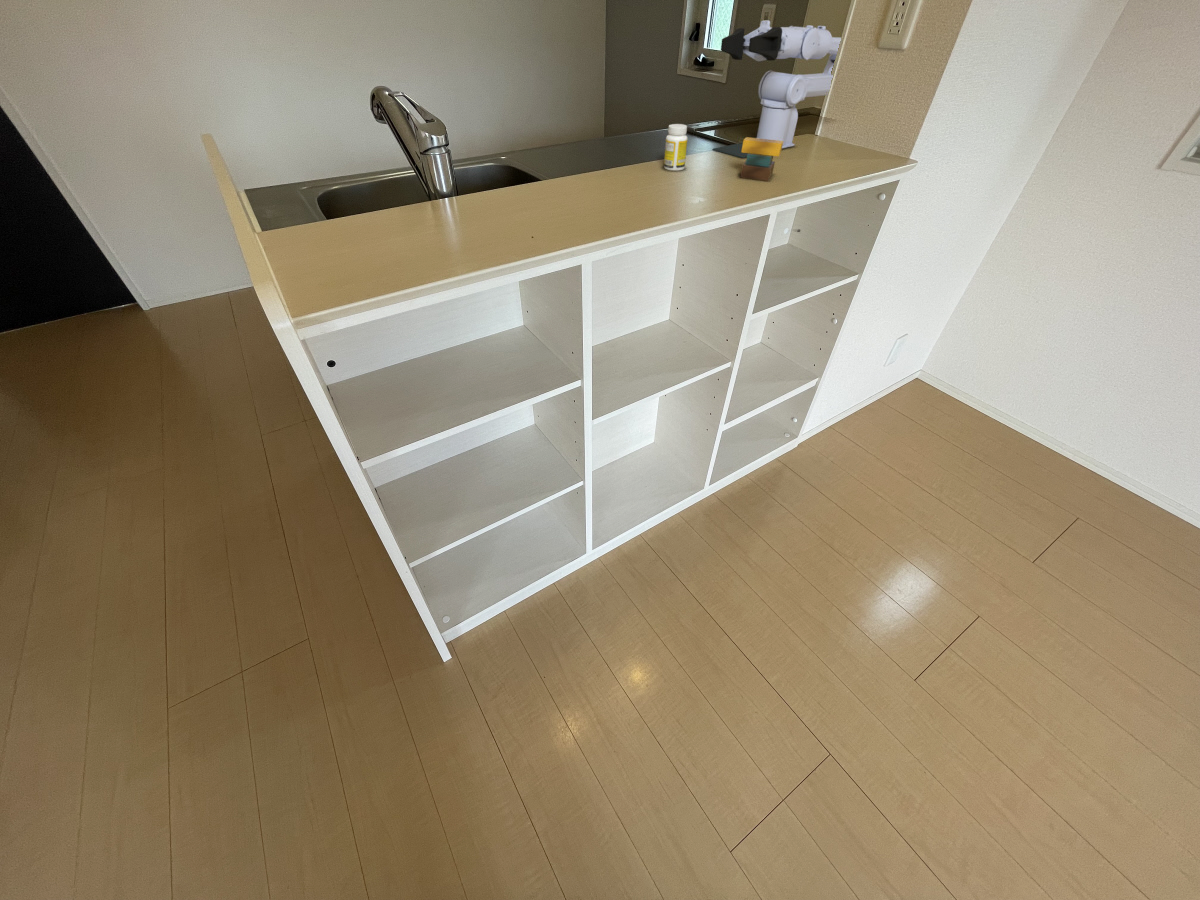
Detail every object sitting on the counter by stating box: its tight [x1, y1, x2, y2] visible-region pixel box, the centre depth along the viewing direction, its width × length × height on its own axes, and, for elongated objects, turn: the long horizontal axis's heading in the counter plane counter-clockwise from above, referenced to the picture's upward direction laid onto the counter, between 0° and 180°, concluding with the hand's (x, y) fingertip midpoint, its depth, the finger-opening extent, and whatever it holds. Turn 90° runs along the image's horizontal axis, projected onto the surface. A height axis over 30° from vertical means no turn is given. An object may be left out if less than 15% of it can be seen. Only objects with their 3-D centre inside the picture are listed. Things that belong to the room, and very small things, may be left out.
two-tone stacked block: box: [740, 153, 775, 182], centre depth 111 cm, size 6×6×4 cm
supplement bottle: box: [663, 123, 688, 172], centre depth 113 cm, size 5×5×8 cm
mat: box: [712, 142, 748, 159], centre depth 129 cm, size 14×10×1 cm
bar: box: [741, 136, 783, 157], centre depth 108 cm, size 8×3×2 cm, turn 67°
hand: (736, 44), depth 109 cm, fingers open, 7 cm apart
